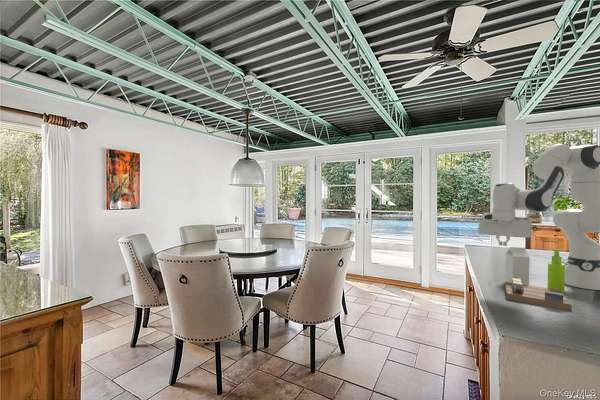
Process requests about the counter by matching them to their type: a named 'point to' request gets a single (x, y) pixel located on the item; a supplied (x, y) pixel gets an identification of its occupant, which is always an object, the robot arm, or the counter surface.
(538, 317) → the counter surface
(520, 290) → the folding leg
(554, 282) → the soap dispenser
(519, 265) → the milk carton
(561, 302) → the wooden tray
